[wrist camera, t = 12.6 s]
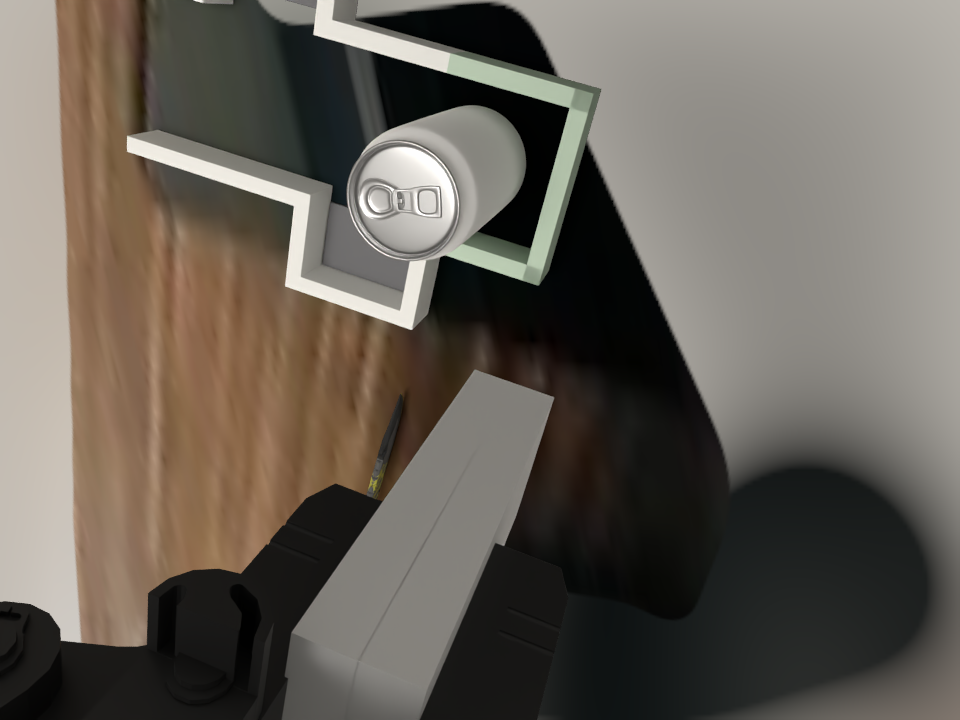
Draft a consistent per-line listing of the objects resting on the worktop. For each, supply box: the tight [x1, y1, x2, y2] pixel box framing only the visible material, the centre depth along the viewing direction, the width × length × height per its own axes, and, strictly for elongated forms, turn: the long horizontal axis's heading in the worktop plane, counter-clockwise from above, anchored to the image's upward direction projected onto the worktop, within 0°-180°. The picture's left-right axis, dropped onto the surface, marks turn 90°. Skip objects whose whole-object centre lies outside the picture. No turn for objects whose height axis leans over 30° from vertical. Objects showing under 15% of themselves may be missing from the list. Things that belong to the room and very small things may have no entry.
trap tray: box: [127, 0, 601, 330], centre depth 44 cm, size 28×22×3 cm
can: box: [347, 105, 526, 261], centre depth 40 cm, size 6×6×12 cm
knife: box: [367, 393, 403, 499], centre depth 57 cm, size 23×2×5 cm, turn 164°
